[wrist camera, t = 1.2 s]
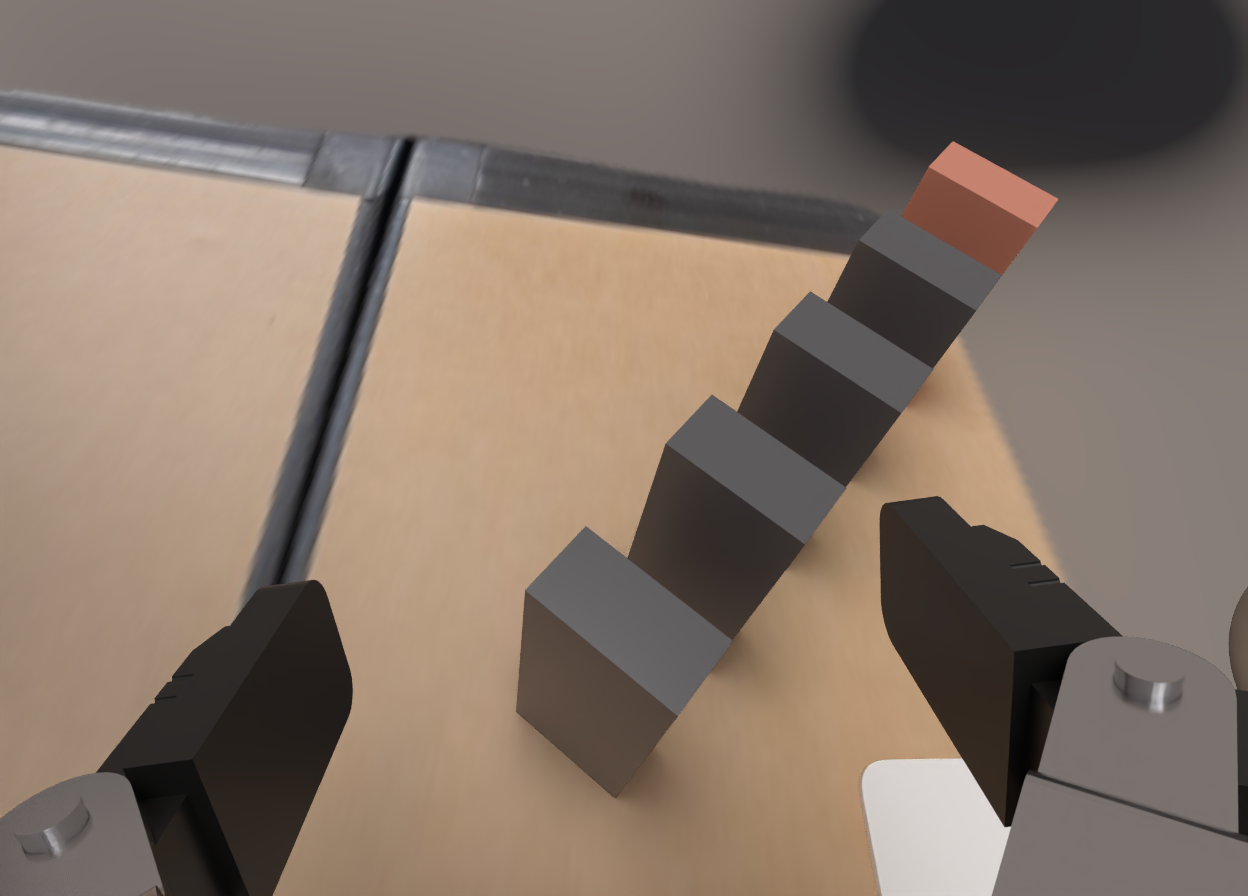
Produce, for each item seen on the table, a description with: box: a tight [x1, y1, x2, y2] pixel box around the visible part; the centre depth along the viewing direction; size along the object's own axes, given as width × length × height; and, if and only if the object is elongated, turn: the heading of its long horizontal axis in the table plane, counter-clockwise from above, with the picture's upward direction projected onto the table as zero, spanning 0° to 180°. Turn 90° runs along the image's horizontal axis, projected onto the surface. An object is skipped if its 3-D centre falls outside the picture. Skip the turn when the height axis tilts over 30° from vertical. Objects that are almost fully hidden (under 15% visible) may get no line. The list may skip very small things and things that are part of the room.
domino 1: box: [516, 527, 733, 798], centre depth 21 cm, size 2×4×10 cm, turn 52°
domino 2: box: [627, 395, 846, 640], centre depth 23 cm, size 2×4×10 cm, turn 52°
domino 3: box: [901, 142, 1058, 275], centre depth 30 cm, size 2×4×10 cm, turn 52°
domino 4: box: [828, 209, 1002, 369], centre depth 28 cm, size 2×4×10 cm, turn 52°
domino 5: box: [737, 292, 933, 487], centre depth 26 cm, size 2×4×10 cm, turn 52°
